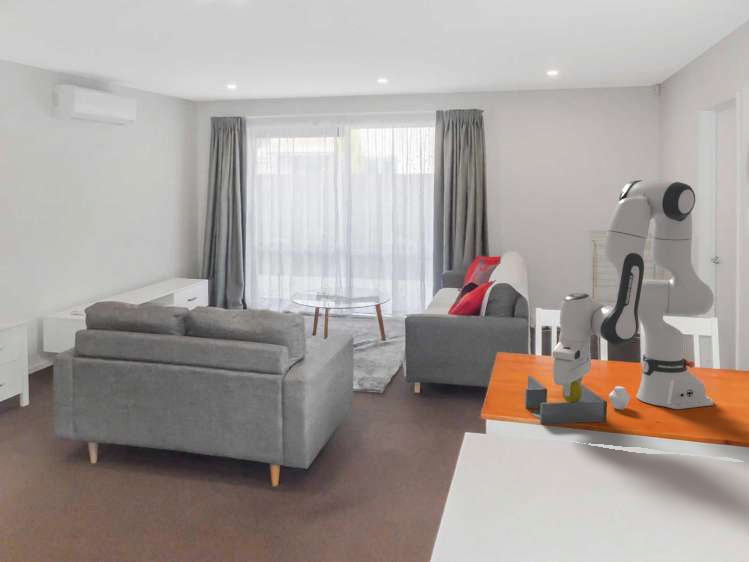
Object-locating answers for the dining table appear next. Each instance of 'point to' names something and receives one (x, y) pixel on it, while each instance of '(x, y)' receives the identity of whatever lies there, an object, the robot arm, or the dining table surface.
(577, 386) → the lemon
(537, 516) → the dining table surface
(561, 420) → the rail corridor
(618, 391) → the white rounded piece
